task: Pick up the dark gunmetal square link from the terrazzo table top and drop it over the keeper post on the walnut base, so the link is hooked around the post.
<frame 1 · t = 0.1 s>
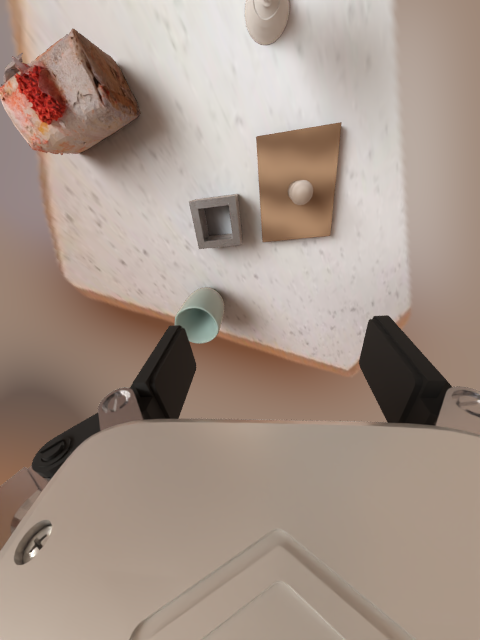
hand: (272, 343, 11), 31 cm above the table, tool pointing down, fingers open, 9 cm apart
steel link: (220, 219, 37), on the table
keeper post: (295, 190, 34), on the table
food item: (93, 111, 31), on the table
chalice: (266, 12, 25), on the table
cup: (209, 298, 46), on the table
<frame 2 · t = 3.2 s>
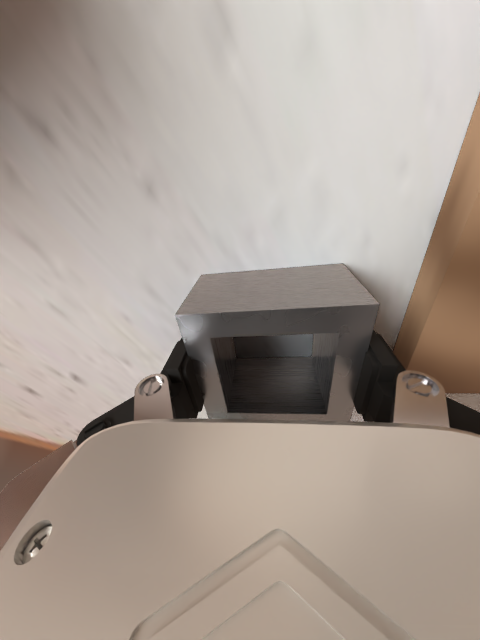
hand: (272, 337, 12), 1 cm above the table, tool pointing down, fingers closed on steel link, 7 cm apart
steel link: (271, 327, 13), on the table, touching gripper
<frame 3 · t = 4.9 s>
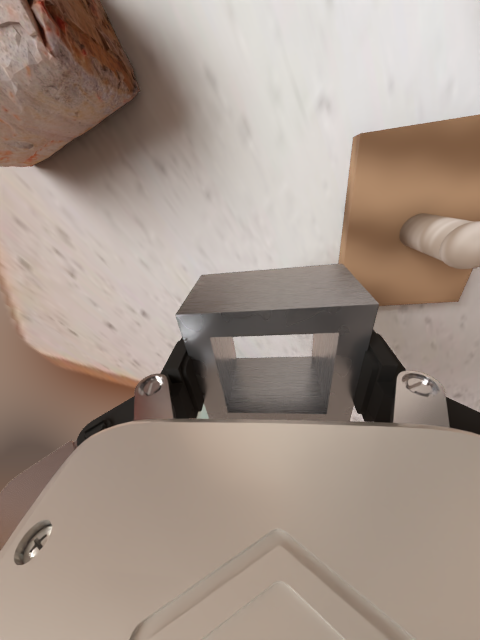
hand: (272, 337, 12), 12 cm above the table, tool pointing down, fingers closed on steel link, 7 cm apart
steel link: (271, 326, 13), point 11 cm above the table, touching gripper
keeper post: (406, 227, 19), on the table
food item: (54, 91, 17), on the table
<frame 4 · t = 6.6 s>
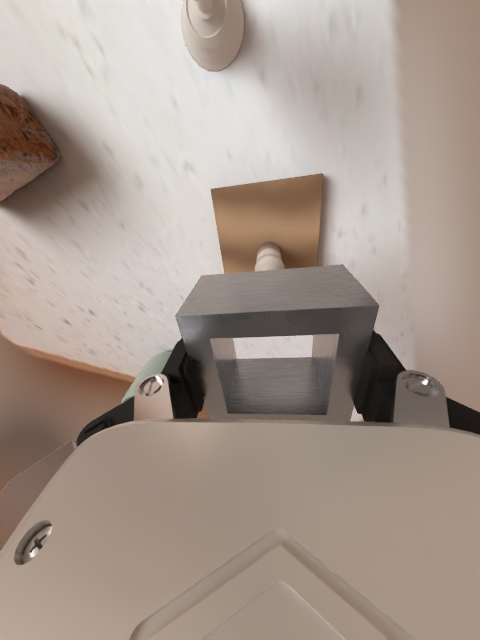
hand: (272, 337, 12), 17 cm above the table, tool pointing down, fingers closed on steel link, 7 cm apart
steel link: (271, 327, 13), point 16 cm above the table, touching gripper
keeper post: (268, 249, 26), on the table
food item: (2, 154, 24), on the table
chalice: (213, 26, 17), on the table
cup: (174, 361, 39), on the table
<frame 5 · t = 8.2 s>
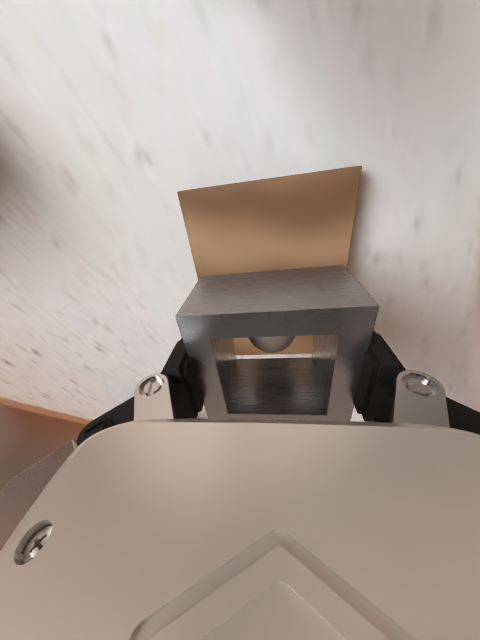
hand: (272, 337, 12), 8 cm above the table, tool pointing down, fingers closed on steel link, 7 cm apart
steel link: (271, 327, 13), point 7 cm above the table, touching gripper
keeper post: (269, 278, 18), on the table
when the fingers open (4 cm above the table, at t = 9.9 s): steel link drops 2 cm, resting on keeper post.
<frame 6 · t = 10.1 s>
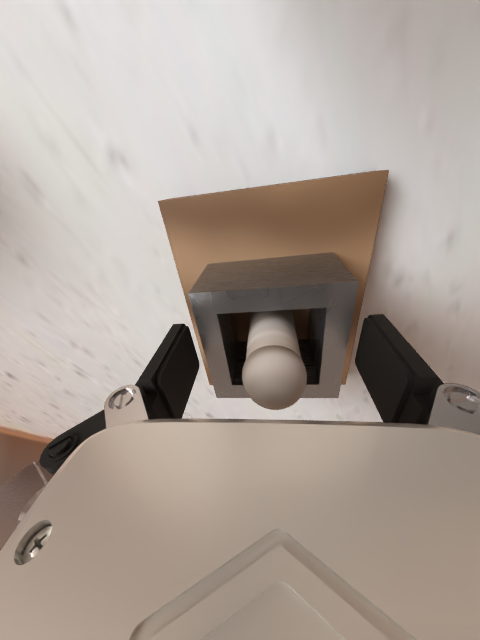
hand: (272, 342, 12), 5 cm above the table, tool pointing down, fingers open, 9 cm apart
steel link: (270, 311, 14), point 1 cm above the table, touching keeper post
keeper post: (270, 300, 15), on the table
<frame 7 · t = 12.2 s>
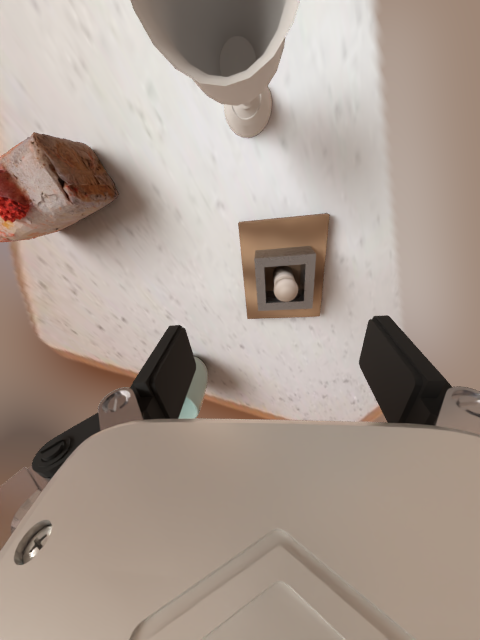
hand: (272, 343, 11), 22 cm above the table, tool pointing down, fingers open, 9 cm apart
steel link: (282, 273, 30), point 1 cm above the table, touching keeper post
keeper post: (282, 270, 32), on the table
food item: (69, 191, 29), on the table
chalice: (247, 107, 23), on the table
cup: (192, 364, 43), on the table
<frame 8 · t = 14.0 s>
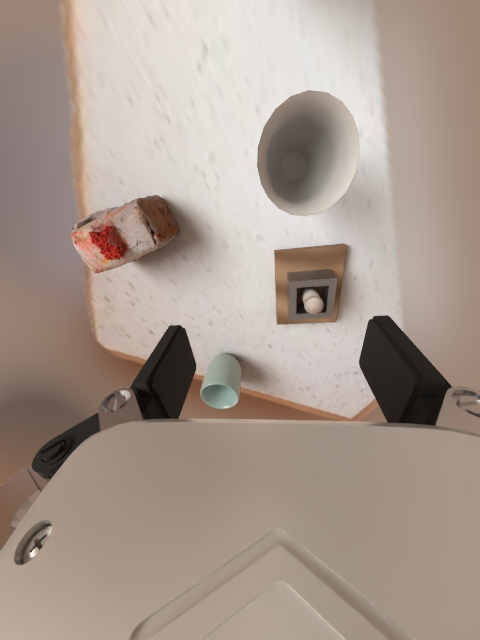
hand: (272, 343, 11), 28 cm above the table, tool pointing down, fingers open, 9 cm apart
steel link: (307, 289, 38), point 1 cm above the table, touching keeper post
keeper post: (306, 286, 39), on the table
food item: (139, 228, 37), on the table
chalice: (286, 169, 31), on the table
cup: (226, 360, 52), on the table
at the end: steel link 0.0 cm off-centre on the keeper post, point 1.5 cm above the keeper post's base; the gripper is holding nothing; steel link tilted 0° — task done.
